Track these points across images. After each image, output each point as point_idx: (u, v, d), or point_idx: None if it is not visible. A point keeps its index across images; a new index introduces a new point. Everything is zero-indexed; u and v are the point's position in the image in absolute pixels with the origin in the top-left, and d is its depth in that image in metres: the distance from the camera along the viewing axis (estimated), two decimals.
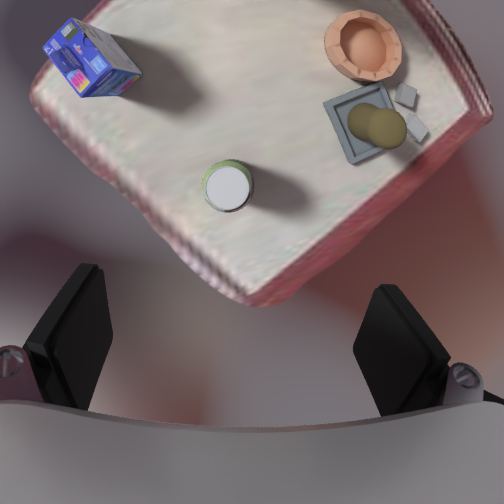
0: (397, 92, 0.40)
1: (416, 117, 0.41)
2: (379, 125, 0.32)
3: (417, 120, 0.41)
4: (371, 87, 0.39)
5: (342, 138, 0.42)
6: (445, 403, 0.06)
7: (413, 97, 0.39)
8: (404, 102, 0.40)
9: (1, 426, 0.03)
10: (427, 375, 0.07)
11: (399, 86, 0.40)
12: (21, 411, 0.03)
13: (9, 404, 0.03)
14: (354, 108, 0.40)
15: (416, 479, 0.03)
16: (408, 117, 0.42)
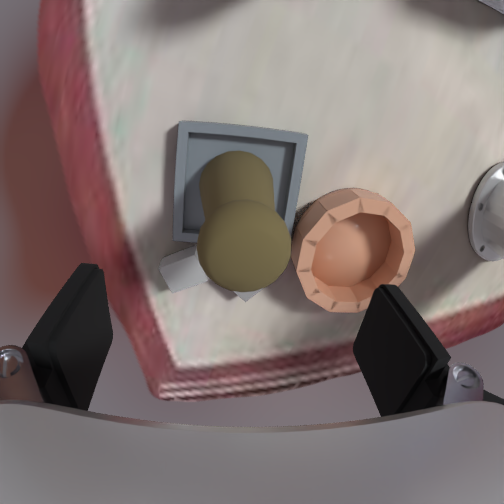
0: None
1: (202, 279, 0.28)
2: (267, 242, 0.16)
3: (196, 279, 0.28)
4: (288, 227, 0.26)
5: (233, 127, 0.23)
6: (445, 403, 0.06)
7: None
8: None
9: (1, 426, 0.03)
10: (427, 375, 0.07)
11: None
12: (21, 411, 0.03)
13: (9, 404, 0.03)
14: (271, 178, 0.24)
15: (416, 479, 0.03)
16: None
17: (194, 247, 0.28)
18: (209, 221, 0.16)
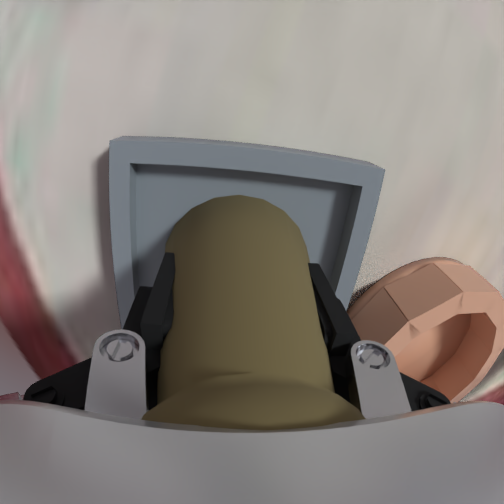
0: None
1: None
2: None
3: None
4: None
5: (229, 150, 0.10)
6: (361, 394, 0.06)
7: None
8: None
9: (1, 426, 0.03)
10: (330, 350, 0.08)
11: None
12: (21, 411, 0.03)
13: (9, 404, 0.03)
14: (306, 250, 0.12)
15: (416, 479, 0.03)
16: None
17: None
18: None
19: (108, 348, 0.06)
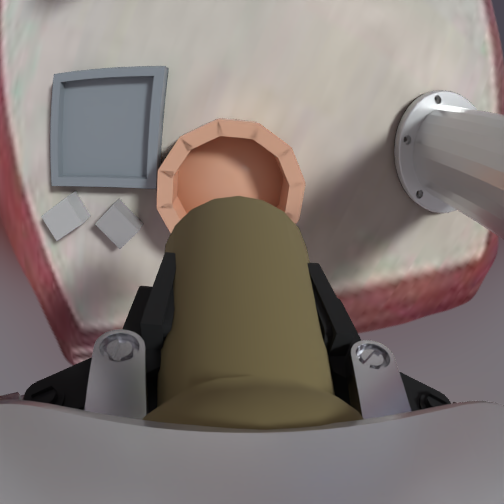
0: (129, 212, 0.26)
1: (77, 222, 0.24)
2: None
3: (72, 223, 0.24)
4: (152, 163, 0.23)
5: (96, 70, 0.19)
6: (361, 394, 0.06)
7: (109, 234, 0.25)
8: (107, 212, 0.25)
9: (1, 426, 0.03)
10: (330, 350, 0.08)
11: (137, 220, 0.26)
12: (21, 411, 0.03)
13: (9, 404, 0.03)
14: (306, 251, 0.12)
15: (416, 479, 0.03)
16: (83, 210, 0.25)
17: None
18: None
19: (108, 348, 0.06)
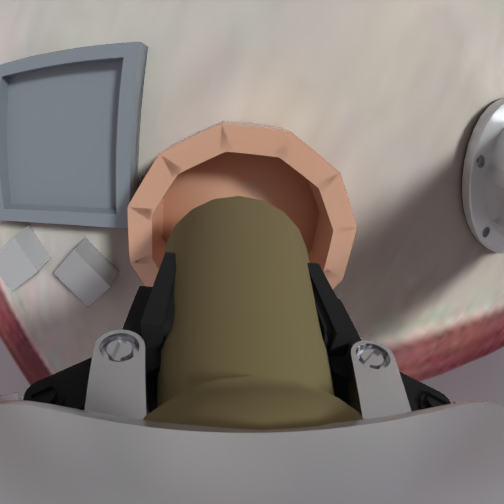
0: (99, 257, 0.18)
1: (32, 270, 0.16)
2: None
3: (26, 271, 0.16)
4: (123, 191, 0.15)
5: (44, 56, 0.11)
6: (361, 394, 0.06)
7: (73, 288, 0.17)
8: (68, 260, 0.17)
9: (1, 426, 0.03)
10: (330, 350, 0.08)
11: (109, 268, 0.18)
12: (21, 411, 0.03)
13: (9, 404, 0.03)
14: (306, 251, 0.12)
15: (416, 479, 0.03)
16: (40, 251, 0.17)
17: (24, 228, 0.17)
18: None
19: (108, 348, 0.06)
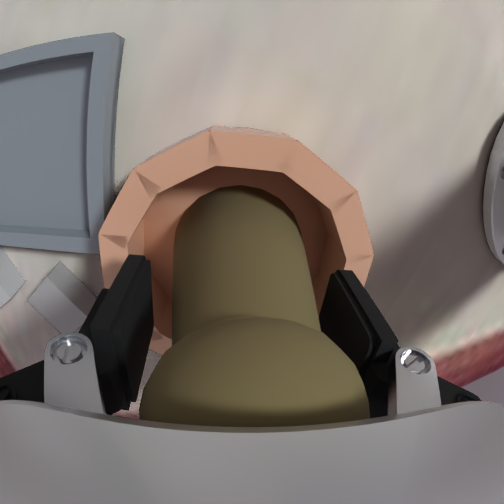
0: (76, 283, 0.15)
1: (5, 297, 0.14)
2: None
3: None
4: (97, 212, 0.13)
5: (8, 55, 0.09)
6: (399, 394, 0.06)
7: (49, 318, 0.15)
8: (41, 287, 0.14)
9: (1, 426, 0.03)
10: (373, 358, 0.07)
11: (88, 296, 0.16)
12: (21, 411, 0.03)
13: (9, 404, 0.03)
14: (300, 233, 0.14)
15: (416, 479, 0.03)
16: (13, 274, 0.15)
17: None
18: (156, 389, 0.05)
19: (58, 352, 0.06)
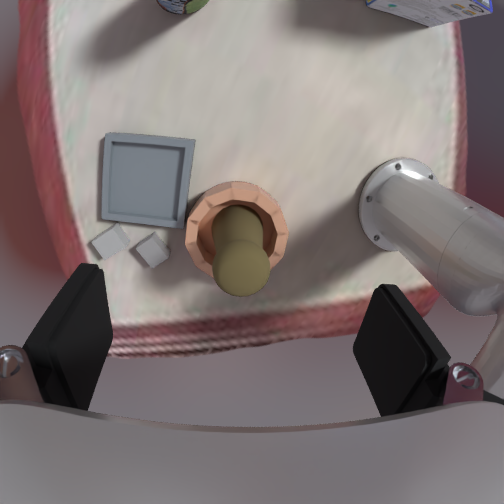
0: (161, 242, 0.37)
1: (122, 246, 0.35)
2: (254, 265, 0.26)
3: (117, 247, 0.35)
4: (182, 211, 0.34)
5: (141, 137, 0.30)
6: (445, 403, 0.06)
7: (145, 257, 0.36)
8: (146, 242, 0.35)
9: (1, 426, 0.03)
10: (427, 375, 0.07)
11: (166, 249, 0.37)
12: (21, 411, 0.03)
13: (9, 404, 0.03)
14: (261, 224, 0.35)
15: (416, 479, 0.03)
16: (125, 236, 0.36)
17: None
18: (220, 252, 0.27)
19: None
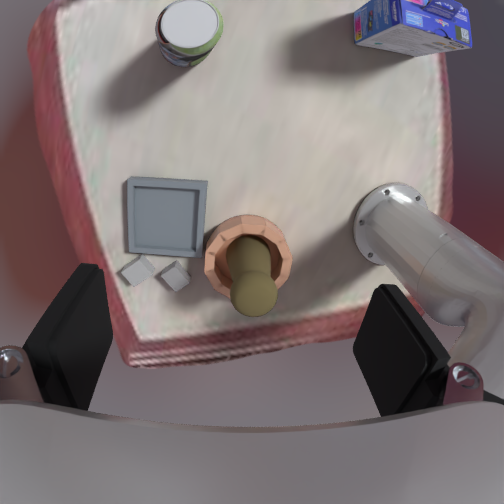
0: (183, 269, 0.43)
1: (148, 274, 0.41)
2: (264, 292, 0.32)
3: (145, 275, 0.41)
4: (200, 243, 0.40)
5: (159, 181, 0.36)
6: (445, 403, 0.06)
7: (170, 283, 0.42)
8: (170, 270, 0.42)
9: (1, 426, 0.03)
10: (427, 375, 0.07)
11: (187, 274, 0.43)
12: (21, 411, 0.03)
13: (9, 404, 0.03)
14: (269, 250, 0.41)
15: (416, 479, 0.03)
16: (150, 265, 0.42)
17: (140, 255, 0.42)
18: (236, 282, 0.33)
19: None
